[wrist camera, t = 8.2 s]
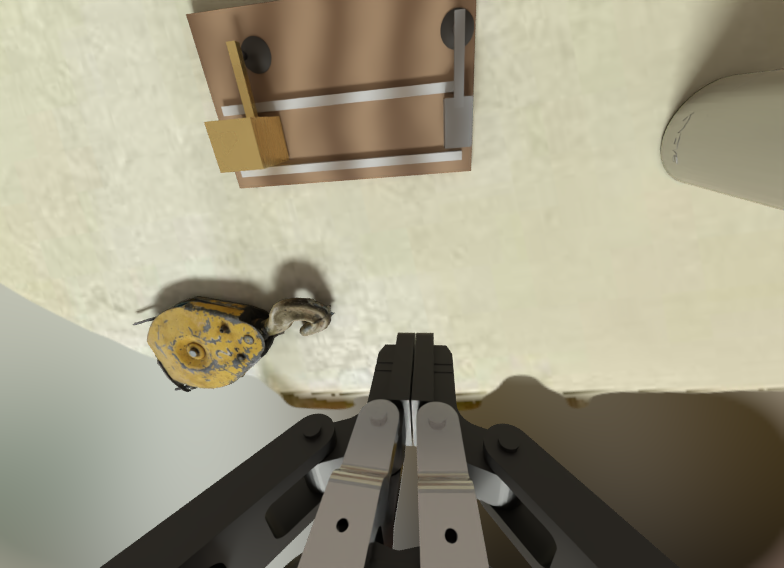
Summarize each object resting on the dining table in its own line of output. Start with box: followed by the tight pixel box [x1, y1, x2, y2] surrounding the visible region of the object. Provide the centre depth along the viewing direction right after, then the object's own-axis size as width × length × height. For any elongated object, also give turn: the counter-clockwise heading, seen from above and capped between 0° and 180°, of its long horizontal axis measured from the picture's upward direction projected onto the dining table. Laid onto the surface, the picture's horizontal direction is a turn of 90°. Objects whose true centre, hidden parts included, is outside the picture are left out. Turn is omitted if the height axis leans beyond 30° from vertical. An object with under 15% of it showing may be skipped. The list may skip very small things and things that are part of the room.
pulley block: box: [133, 296, 334, 392], centre depth 44 cm, size 14×6×30 cm
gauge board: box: [186, 0, 476, 188], centre depth 29 cm, size 25×15×4 cm, turn 95°
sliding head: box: [204, 41, 289, 173], centre depth 28 cm, size 4×10×6 cm, turn 5°
